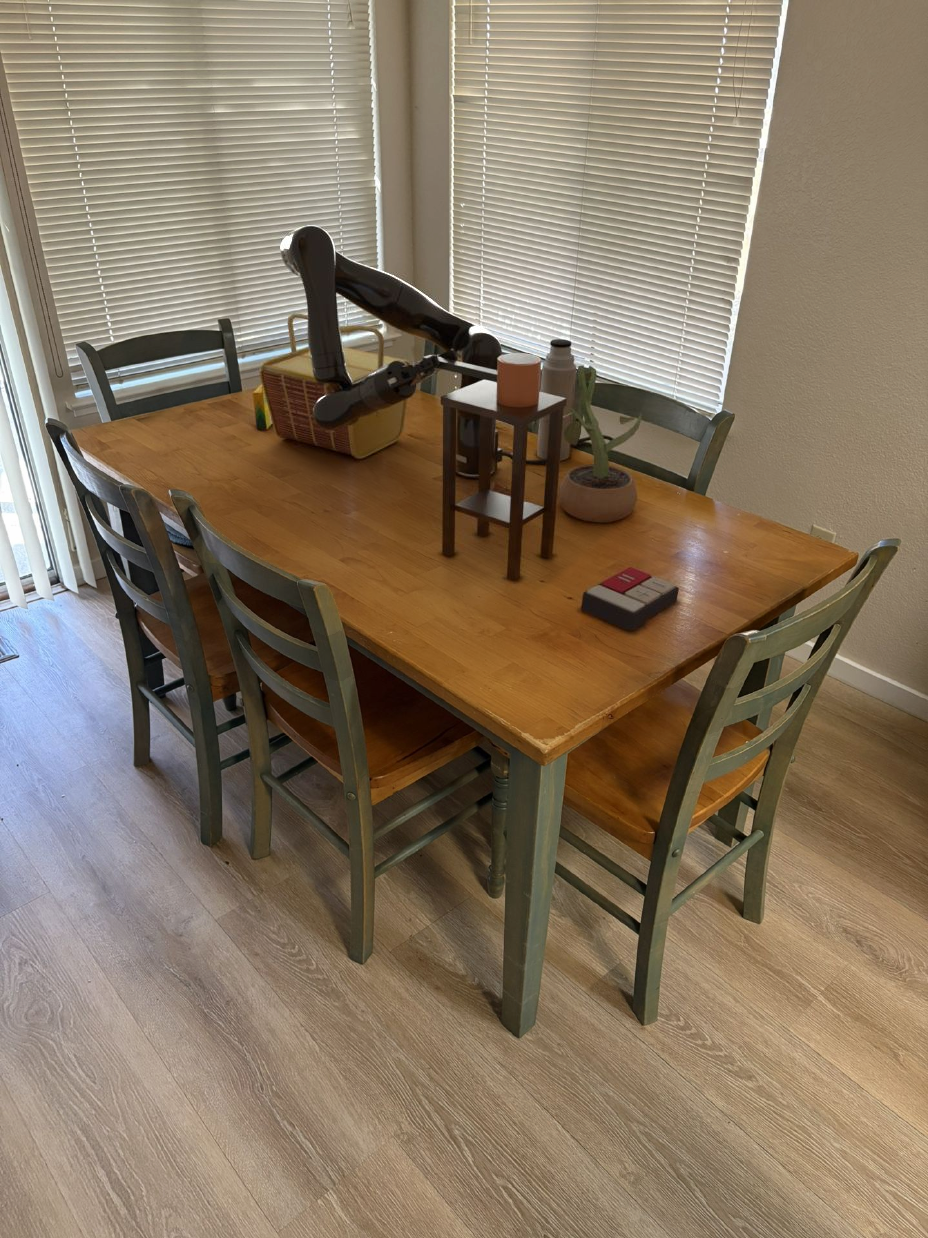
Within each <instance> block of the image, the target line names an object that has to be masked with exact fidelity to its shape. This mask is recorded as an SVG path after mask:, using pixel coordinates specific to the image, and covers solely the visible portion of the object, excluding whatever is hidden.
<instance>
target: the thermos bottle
mask: <svg viewBox="0 0 928 1238" xmlns="http://www.w3.org/2000/svg"><path fill="white" fill-rule="evenodd" d="M549 345H550V349H549V352H548V353H547V354H546V356H545V359H544V361H545V362H543V363H542V366H541V382H540V392H543V393H547V394H551V395H555V396H559V397H564V398H567V401H566V406H565V407H564V410H563V416H565V415H567V414H569V413H572V412H571V411H570V409H569V407H570V406H571V407H572V408H573V409H574V403H575V402H574V400H575V389H576V377H577V365H576V364H575V361H576V360H575V355H574V354H573V353H572V341H571V340H569V339H563V338H555V339H552V340H550V342H549ZM538 420H539V423H538V432H537V450H536V455H537V457H538V458H540V459H541V460H542V459H547V449H548V435H549V422H545V421H549V420H550V414H549V415H547V416H544V417H542V418H540V419H538ZM572 422H573V414H571V415H569V416H566V417H564V418H563V423H562V436H561V450H560V461H565V460H567V459H568V458H569V457H570V453H571V452H570V450H571V447H570V443H568V442H567V441H566V440H565V437H564V432H565V430H566V428H567V427H568V426H569V425H570V424H571V423H572Z"/></svg>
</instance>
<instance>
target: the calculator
mask: <svg viewBox="0 0 928 1238" xmlns="http://www.w3.org/2000/svg"><path fill="white" fill-rule="evenodd" d="M679 590H680V589H679V587H678V586H677V585H676V584H675V583H673V582H670V581H669V580H665V579H663V578H660V577H657V576H652V574H650V573H648V572H645V571H643V570H640V569H638V568H634V567H631V566H629V567H627V568H625V569H624V570H622V571H619V572H617V573H616V574H614V575H612V576H610V577H608V578H606V579H604V580H602V581H601V582H600V583H598V584H596V585H595V586H592V587H590V588H588V589H587V590H585V591H583V593H582V599H581V608H580V609H581V611H582V612H585V613H586V614H589V615H591V616H594V617H596V618H598V619H600V620H602V621H604V622H608V623H610V624H612V625H614V626H617V627H619V628H621V629H622V630H625V631H627V632H630V633H632V632H635V631H636V630H637V629H639V628H641V627H642V626H645V623H646V622H647V621H648V620H650V619H651V618H653V617H655V616H657V615H658V614H659V613H661V612H662V611H664V610H666V609H667V608H669V607H670V606H671V607H672V605H674V604H676V603H677V602H678V597H679Z"/></svg>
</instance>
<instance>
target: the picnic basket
mask: <svg viewBox="0 0 928 1238" xmlns="http://www.w3.org/2000/svg"><path fill="white" fill-rule="evenodd" d="M295 318H297V319H303V320H306V321H308V314H305V313H304V314H303V313H295V312H293V313H292V314H290V315H289V316H288V318H287V329H288V330H287V331H288V336H289V344H290V350H291V351H290V352H288V353H285V354H282V355H279V356H275V357H273V358H270V359H268V360H265V361H264V362H262V364H261V365H260V367H259V371H258V372H259V379H260V382H261V384H262V386H263V390H264V393H265V397H266V401H267V404H268V408H269V412H270V415H271V419H272V427H273V429H274V432H275V434H276V435H277V436H278V437H279V438H280V439H284V440H285V439H289V440H294V441H296V442H301V443H305V444H308V445H312V446H315V447H316V446H317V447H320V448H323V449H327V450H330V451H335V452H338V453H342V454H346V455H349V456H352V457H353V458H355V459H357V460H361V459H365V458H367V457H369V456H371V455H373V454H375V453H377V452H378V451H381V450H383V449H385V448H386V447H388V446H392V445H393V444H395V443H396V442H397V441H398V440H399V439H400V438H401V436H402V434H403V432H404V430H405V429H404V428H405V422H406V414H407V407H408V400H409V398H408V399H405V400H403V401H401V402H399V403H397V404H395V405H393V406H391V407H388V408H385V409H381V410H379V411H377V412H375V413H373V414H370V415H368V416H364V417H360V418H359V420H358V422H357V423H355V424H353V425H350V426H346V427H343V428H339V429H336V430H331V431H328V430H324V429H322V428H320V427H319V426H318V425H317V424H316V423H315V421H314V419H313V407H314V405H315V403H316V402H317V400H319V399H320V398H321V397H323V396H325V395H328V394H330V393H333V392H332V390H331V388H330V386H329V384H321V383H318V382H317V381H316V380H315V378H314V374H313V368H312V364H311V358H310V352H309V346H308V345H307V346H305V347H302V348H299V349H297V345H296V337H295V331H294V319H295ZM339 326H340V332H341V334H346V333H347V334H348V333H353V332H356V331H365V332H370V333H373V334H375V335H376V336H377V340H378V346H377V349H378V350H377V353H374V352H373V353H372V352H368V351H363V350H357V349H353V348H349V347H344V346H343V349H344V354H345V360H346V366H347V371H348V373H349V376H350V378H351V380H352V382H353V384H354V383H355V382H357V381H359V380H361V379H363V378H365V377H366V376H367V375H369V374H370V373H372V372H373V371H375V370H377V369H379V368H381V367H383V366H385V365H387V364H389V363H391V362H393V361H402V362H404V363H405V364H410V363H411V361H410V360H408V359H403V358H398V357H393V356H387V355H384V354H385V340H384V335H383V333H382V332H381V331H380V330H379V329H378V328H375V327H373V326H368V325H361V324H355V325H354V324H352V325H339Z"/></svg>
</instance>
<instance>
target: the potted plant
mask: <svg viewBox="0 0 928 1238" xmlns="http://www.w3.org/2000/svg"><path fill="white" fill-rule="evenodd" d="M587 370H589V371H590V372H587V373H585V365H578V366H577V376H578V377H577V379H576V384H578V388H579V392H580V395H579V396H580V402H579V403H580V410H581V412H582V415H583V418H582V416H580V415H579V414H578V412H577V411H576V410H575V409H574V407H573V408H572V407H571V406H570V407H569V409H570V411H571V412H572V413H569V414H567V415H565V416H563V418H564V417H566V416H569V415H571V414H572V416H574V418H575V420H574V421H572V423H571V424H570V425H569V426H568V427H567V428H566V430H565V432H564V437H565V440H566V441H567V442H568V443H570V444H572V445H573V447H575V448H577V445H578V443H577V442H578V440H579V439H581V434H582V428H583V429H584V430H585V432H586V433H587V435H588V437H590V439H591V440H590V442H591V450H592V456H593V463H590V464H589V463H588V464H582V465H577V466H574V467H572V468H570V469H568V471H567V472H566V474H565V476H564V478H563V479H562V481H561V483H560V486H559V487H558V489H559V490H558V501H559V503H560V505H561V507H562V509H563V510H564V512H566V513H567V514H568V515H570V516H571V517H574V518H575V519H578V520H581V521H584V522H591V523H600V524H601V523H611V522H617V521H619V520H623V519H625V518H626V517H627V516H629V515H630V514H631V513H632V512H633V510H634V508H635V507H636V505H637V502H638V489H637V486H636V484H635V481H634V477H633V475H632V474H631V473H630V472H628V471H627V470H625V469H623V468H620V467H617V466H615V465H614V466H613V465H610V463H609V455H608V452H610V451H612V450H613V449H614V448H616V447H618V446H621V445H622V444H624V443H625V442H627V441H628V440H629V439H631V438H632V437H633V436H634V435H635V434H636V432H637V431H638V430H639V428H640V425H641V421H642V413H639V416H638V417H637V418H635V417H627V416H622V415H620V416H619V423H620V425H626V424H629V423H631V422H634V421H636V422H635V423H634V425H633V426H632V427H631V428H630V429H629V430H627V431H626V432H624V433H623V434H620V435H618V436H617V437H615V438H613V440H611V441H610V440H609V441H608V442H606V439H604V438H603V435H604V434H603V433H602V431H601V429H600V425H599V421H598V419H597V418H596V416H595V414H594V412H593V410H592V407H591V406H592V399H593V394H594V390H595V387H596V386H595V385H596V381H597V378H598V374H597V369H596V368H595V367H593V366H592V365H589V366H588V368H587ZM587 383H588V386H587ZM545 422H549V421H545ZM581 426H582V427H581Z"/></svg>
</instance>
